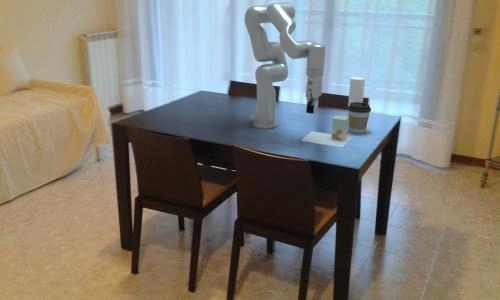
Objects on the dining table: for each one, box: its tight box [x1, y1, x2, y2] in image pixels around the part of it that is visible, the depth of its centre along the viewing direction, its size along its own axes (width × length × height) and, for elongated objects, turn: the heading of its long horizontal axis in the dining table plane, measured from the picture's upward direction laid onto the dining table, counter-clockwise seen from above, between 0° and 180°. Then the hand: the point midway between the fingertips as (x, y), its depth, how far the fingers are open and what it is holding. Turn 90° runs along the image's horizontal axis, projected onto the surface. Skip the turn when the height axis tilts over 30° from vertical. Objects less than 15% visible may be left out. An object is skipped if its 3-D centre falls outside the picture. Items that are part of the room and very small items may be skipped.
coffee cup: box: [347, 102, 372, 134], centre depth 237 cm, size 11×11×15 cm
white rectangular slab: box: [300, 130, 352, 148], centre depth 227 cm, size 20×16×2 cm
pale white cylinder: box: [309, 98, 319, 115], centre depth 220 cm, size 5×5×6 cm
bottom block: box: [331, 127, 349, 141], centre depth 228 cm, size 6×6×5 cm
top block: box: [331, 115, 349, 131], centre depth 226 cm, size 6×6×5 cm
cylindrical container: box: [346, 76, 366, 128], centre depth 248 cm, size 7×7×25 cm
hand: (311, 111), depth 221 cm, fingers closed on pale white cylinder, 4 cm apart
